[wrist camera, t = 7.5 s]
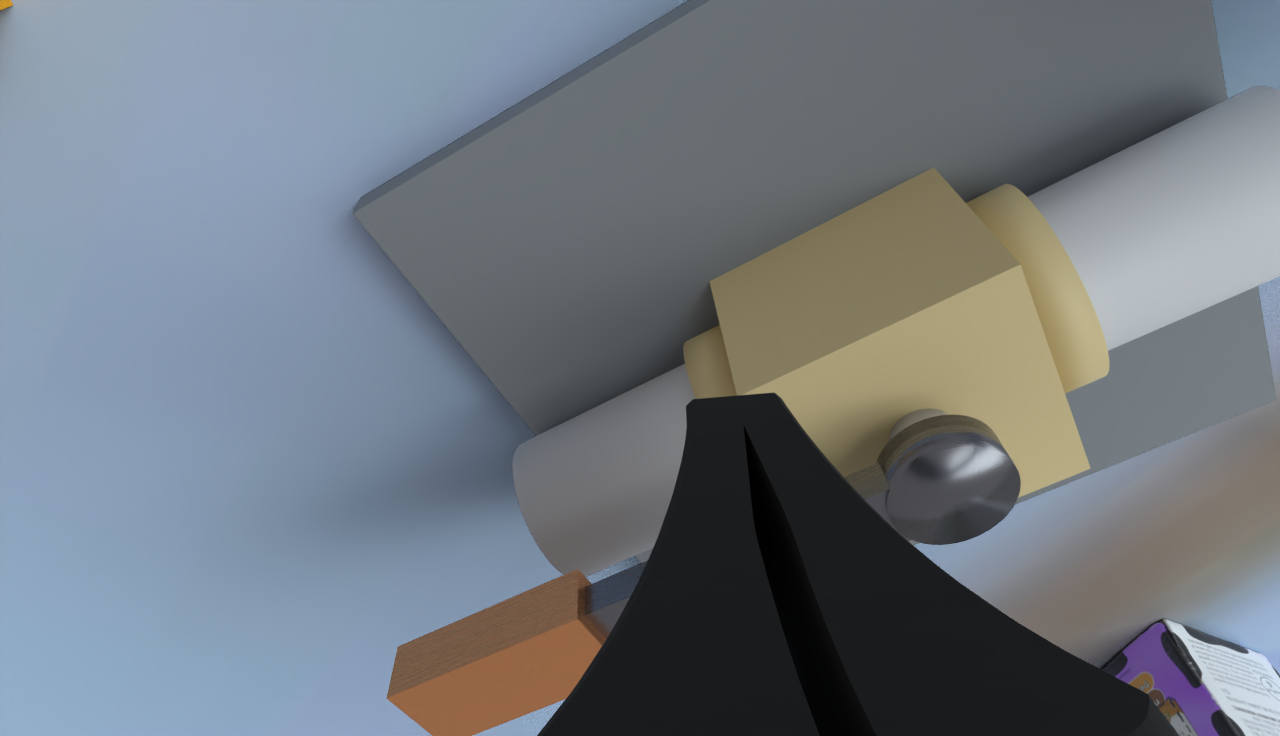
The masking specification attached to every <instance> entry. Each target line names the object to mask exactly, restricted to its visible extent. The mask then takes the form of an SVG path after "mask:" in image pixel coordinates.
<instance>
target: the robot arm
mask: <svg viewBox="0 0 1280 736" xmlns="http://www.w3.org/2000/svg"><path fill="white" fill-rule="evenodd" d="M686 420H687V429H686V438H685V444H684V450H683V455H682V460H681V464H680V468H679V472H678V476H677V480H676V484H675V488H674V491H673V495H672V498H671V501H670V504H669V507H668V510H667V512H666V515H665V518H664V521H663V524H662V527H661V529H660V532H659V535H658V538H657V540H656V543H655V545H654V547H653V550H652V552H651V555H650V557H649V559H648V561H647V564H646V566H645V568H644V570H643V572H642V574H641V577H640V579H639V581H638V583H637V585H636V587H635V589H634V591H633V593H632V595H631V596H630V598H629V600H628V602H627V604H626V606H625V608H624V610H623V612H622V613H621V615H620V617H619V619H618V621H617V622H616V624H615V626H614V628H613V629H612V631H611V633H610V634H609V636H608V638H607V639H606V641H605V642H604V644H603V645H602V647H601V648H600V650H599V652H598V653H597V655H596V656H595V658H594V659H593V661H592V662H591V664H590V665H589V667H588V668H587V670H586V671H585V673H584V674H583V676H582V677H581V679H580V680H579V682H578V683H577V685H576V686H575V688H574V689H573V690H572V692H571V693H570V695H569V696H568V697H567V698H566V700H565V701H564V702H563V704H562V705H561V706H560V707H559V709H558V710H557V711H556V712H555V714H554V715H553V716H552V718H551V719H550V720H549V721H548V723H547V724H546V725H545V726H544V728H543V729H542V730H541V732H540V733H539V734H538V735H537V736H1179V735H1178V733H1177V732H1176V730H1175V729H1174V728H1173V726H1172V725H1171V724H1170V722H1169V721H1168V720H1167V719H1166V717H1165V716H1164V715H1163V713H1162V712H1161V711H1160V710H1159V708H1158V707H1157V706H1156V704H1155V703H1154V701H1153V700H1152V699H1151V697H1150V696H1149V695H1148V694H1147V693H1145V692H1143V691H1141V690H1139V689H1137V688H1135V687H1133V686H1131V685H1130V684H1128V683H1126V682H1124V681H1122V680H1120V679H1118V678H1116V677H1114V676H1112V675H1110V674H1108V673H1106V672H1104V671H1102V670H1101V669H1099V668H1097V667H1095V666H1093V665H1091V664H1089V663H1087V662H1085V661H1083V660H1081V659H1079V658H1077V657H1075V656H1073V655H1072V654H1070V653H1068V652H1066V651H1064V650H1063V649H1061V648H1059V647H1058V646H1056V645H1054V644H1053V643H1051V642H1049V641H1048V640H1046V639H1044V638H1042V637H1041V636H1039V635H1037V634H1036V633H1034V632H1032V631H1031V630H1029V629H1027V628H1026V627H1024V626H1022V625H1021V624H1019V623H1018V622H1016V621H1015V620H1013V619H1011V618H1010V617H1008V616H1007V615H1005V614H1004V613H1002V612H1001V611H999V610H998V609H997V608H995V607H994V606H992V605H991V604H989V603H988V602H986V601H985V600H984V599H982V598H981V597H979V596H978V595H976V594H975V593H973V592H972V591H971V590H969V589H968V588H966V587H965V586H963V585H962V584H960V583H959V582H958V581H956V580H955V579H954V578H953V577H951V576H950V575H949V574H947V573H946V572H945V571H944V570H942V569H941V568H940V567H938V566H937V565H936V564H935V563H933V562H932V561H931V560H930V559H929V558H927V557H926V556H925V555H924V554H923V553H921V552H920V551H919V550H918V549H917V548H916V547H914V546H913V545H912V544H911V543H910V542H909V541H907V540H906V539H905V538H904V537H903V536H902V535H901V534H900V533H899V532H897V531H896V530H895V529H894V528H893V527H892V526H891V525H890V524H889V523H888V522H887V521H886V520H885V519H884V518H883V517H882V516H881V515H880V514H879V513H878V512H877V511H876V510H875V509H874V508H873V507H872V506H870V505H869V504H868V503H867V502H866V501H865V500H864V498H863V497H862V496H861V495H860V494H859V493H858V492H857V491H856V490H855V489H854V488H853V487H852V486H851V485H850V484H849V482H848V481H847V480H846V479H845V478H844V477H843V476H842V475H841V473H840V472H839V471H838V470H837V469H836V468H835V467H834V466H833V464H832V463H831V462H830V461H829V460H828V459H827V458H826V456H825V455H824V454H823V453H822V452H821V450H820V449H819V448H818V447H817V446H816V444H815V443H814V442H813V441H812V439H811V438H810V437H809V436H808V434H807V433H806V432H805V430H804V429H803V428H802V426H801V425H800V424H799V423H798V421H797V420H796V418H795V417H794V416H793V414H792V413H791V411H790V410H789V409H788V407H787V406H786V404H785V403H784V401H783V400H782V398H781V397H779V396H778V395H777V394H776V393H775V392H774V393H762V394H750V395H737V396H725V397H713V398H701V399H693V400H692V401H691V402H690V403H688V404H687V405H686Z"/></svg>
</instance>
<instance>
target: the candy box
mask: <svg viewBox="0 0 1280 736" xmlns="http://www.w3.org/2000/svg"><path fill="white" fill-rule="evenodd" d="M1102 671H1104V672H1106V673H1108V674H1110V675H1112V676H1114V677H1116V678H1118V679H1120V680H1122V681H1124V682H1126V683H1128V684H1130V685H1131V686H1133V687H1135V688H1137V689H1139V690H1141V691H1143V692H1145V693H1147V694H1148V695H1149V696H1150V697H1151V699H1152V700H1153V701H1154V703H1155V704H1156V706H1157V707H1158V708H1159V710H1160V711H1161V712H1162V713H1163V715H1164V716H1165V717H1166V719H1167V720H1168V721H1169V722H1170V724H1171V725H1172V726H1173V728H1174V729H1175V730H1176V732H1177V733H1178V735H1179V736H1280V675H1279V674H1278V672H1277V671H1276V670H1275V669H1274V667H1273V666H1272V665H1271V663H1270V662H1269V661H1268V660H1267V658H1266V657H1265V656H1264V655H1262V654H1259V653H1257V652H1254V651H1251V650H1249V649H1246V648H1244V647H1241V646H1238V645H1236V644H1234V643H1231V642H1227V641H1224V640H1221V639H1218V638H1215V637H1213V636H1210V635H1207V634H1205V633H1202V632H1200V631H1198V630H1195V629H1192V628H1190V627H1187V626H1184V625H1181V624H1178V623H1175V622H1173V621H1170V620H1167V619H1163V620H1162V621H1161V622H1159V623H1155V624H1153V625H1152V626H1151V627H1149V629H1148V630H1146V631H1145V632H1144V633H1143V634H1141V635H1140V636H1139V637H1138V638H1136V639H1135V640H1134V641H1133V642H1132V643H1131V644H1129V645H1128V646H1127V647H1126V648H1125V649H1124V650H1123V651H1122V652H1121V653H1120V654H1118V655H1117V656H1116V658H1115V659H1113V660H1112V661H1111V662H1110V663H1109V664H1108V665H1107V666H1106V667H1105V668H1103V669H1102Z"/></svg>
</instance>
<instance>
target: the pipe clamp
mask: <svg viewBox="0 0 1280 736" xmlns="http://www.w3.org/2000/svg"><path fill="white" fill-rule="evenodd" d="M12 5H13V4H12V2H11V0H0V10H2V9H5V8H7V7H10V6H12Z"/></svg>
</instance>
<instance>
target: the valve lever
mask: <svg viewBox="0 0 1280 736" xmlns="http://www.w3.org/2000/svg"><path fill="white" fill-rule="evenodd" d="M844 478H845V479H846V480H847V481H848V482H849V484H850V485H851V486H852V487H853V488H854V489H855V490H856V491H857V492H858V493H859V494H860V495H861V496H862V497H863V498H864V500H865V501H866V502H867V503H868V504H869V505H870V506H872V507H873V508H874V509H875V510H876V511H877V512H878V513H879V514H880V515H881V516H882V517H883V518H884V519H885V520H886V521H887V522H888V523H889V524H890V525H891V526H892V527H893V528H894V529H895V530H896V531H897V532H899V533H900V534H901V535H902V536H903V537H904V538H905V539H906V540H907V541H911V540H914V541H916V542H920V543H924V544H932V545H943V544H952V543H958V542H962V541H966V540H968V539H971V538H974V537H976V536H979V535H981V534H983V533H984V532H986V531H988V530H990V529H991V528H993V527H994V526H996V525H997V524H998V523H999V522H1000V521H1002V520H1003V519H1004V518H1005V517H1006V516H1007V514H1008V513H1009V512H1010V511H1011V509H1012V508H1013V506H1014V505H1015V503H1016V501H1017V499H1018V496H1019V493H1020V487H1021V480H1020V475H1019V471H1018V470H1017V468H1016V466H1015V464H1014V463H1013V461H1012V459H1011V458H1010V456H1009V455H1008V453H1007V451H1006V450H1005V448H1004V447H1003V445H1002V443H1001V442H1000V440H999V439H998V437H997V435H996V434H995V432H994V431H993V430H992V429H991V428H990V427H989V426H988V425H987V424H985V423H984V422H982V421H980V420H978V419H975V418H972V417H969V416H964V415H940V416H934V417H930V418H927V419H924V420H921V421H918V422H916V423H914V424H912V425H910V426H908V427H907V428H905V429H903V430H902V431H900V432H899V433H898V434H896V435H895V436H894V437H893V438H892V439H891V440H890V441H889V442H888V443H887V444H886V446H885V447H884V448H883V450H882V451H881V453H880V455H879V457H878V459H877V462H876V464H873V465H871V466H869V467H866V468H864V469H862V470H859V471H857V472H855V473H852V474H850V475H847V476H845V477H844ZM647 561H648V560H647ZM647 561H645V562H643V563H640V564H638V565H636V566H633V567H631V568H629V569H626V570H624V571H621V572H619V573H617V574H614V575H612V576H610V577H607V578H605V579H603V580H600V581H598V582H596V583H593V584H591V583H590V582H589V581H588V580H587V578H586V577H585V576H584V575H583V574H582V573H581V572H580V571H579V569H577V570H574V571H572V572H570V573H567V574H565V575H563V576H561V577H558V578H556V579H554V580H551V581H549V582H547V583H544V584H542V585H540V586H537V587H535V588H533V589H530V590H528V591H526V592H523V593H521V594H519V595H517V596H514V597H512V598H510V599H507V600H505V601H503V602H500V603H498V604H496V605H493V606H491V607H489V608H486V609H484V610H482V611H479V612H477V613H475V614H472V615H470V616H468V617H466V618H463V619H461V620H459V621H456V622H454V623H452V624H449V625H447V626H445V627H442V628H440V629H438V630H435V631H433V632H431V633H428V634H426V635H424V636H422V637H419V638H417V639H415V640H412V641H410V642H408V643H405V644H403V645H401V646H398V649H397V653H396V658H395V662H394V667H393V672H392V676H391V681H390V685H389V690H388V694H387V699H388V700H389V701H391V702H392V703H393V704H394V705H395V706H397V707H398V708H399V709H400V710H402V711H403V712H404V713H405V714H407V715H408V716H409V717H410V718H411V719H413V720H414V721H415V722H416V723H418V724H419V725H420V726H421V727H423V728H424V729H425V730H426V731H428V732H429V733H430V734H431V735H432V736H472V735H475V734H477V733H480V732H482V731H485V730H487V729H490V728H492V727H495V726H498V725H500V724H503V723H505V722H508V721H510V720H513V719H515V718H518V717H521V716H523V715H526V714H528V713H531V712H533V711H536V710H538V709H541V708H544V707H546V706H549V705H551V704H554V703H556V702H559V701H561V700H564V699H566V698H567V697H568V696H569V695H570V693H571V692H572V690H573V689H574V688H575V686H576V685H577V683H578V682H579V680H580V679H581V677H582V676H583V674H584V673H585V671H586V670H587V668H588V667H589V665H590V664H591V662H592V661H593V659H594V658H595V656H596V655H597V653H598V652H599V650H600V648H601V647H602V645H603V644H604V642H605V641H606V639H607V638H608V636H609V634H610V633H611V631H612V629H613V628H614V626H615V624H616V622H617V621H618V619H619V617H620V615H621V613H622V612H623V610H624V608H625V606H626V604H627V602H628V600H629V598H630V596H631V595H632V593H633V591H634V589H635V587H636V585H637V583H638V581H639V579H640V577H641V574H642V572H643V570H644V568H645V566H646V564H647Z"/></svg>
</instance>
